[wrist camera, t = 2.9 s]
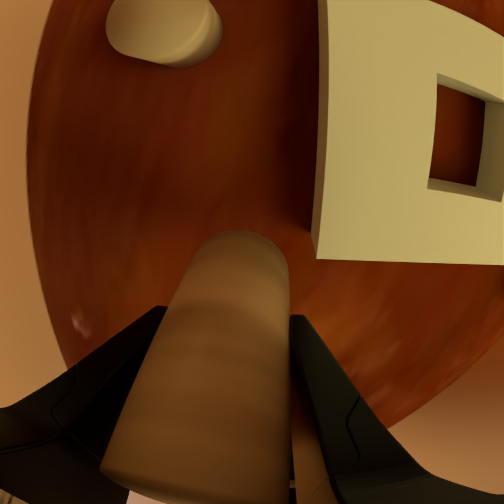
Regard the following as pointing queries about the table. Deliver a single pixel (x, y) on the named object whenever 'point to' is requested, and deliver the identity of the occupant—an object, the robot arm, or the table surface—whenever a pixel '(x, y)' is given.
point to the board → (403, 134)
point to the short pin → (165, 30)
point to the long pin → (214, 385)
